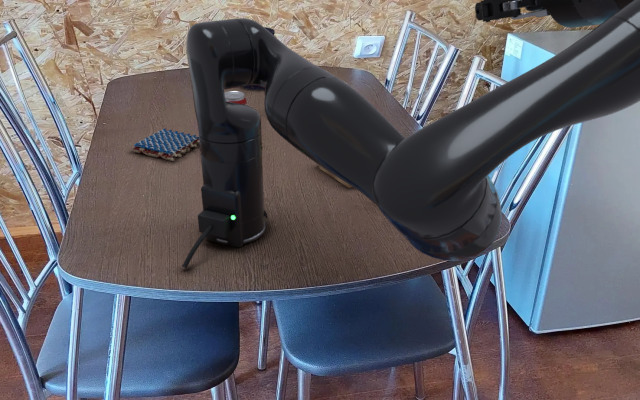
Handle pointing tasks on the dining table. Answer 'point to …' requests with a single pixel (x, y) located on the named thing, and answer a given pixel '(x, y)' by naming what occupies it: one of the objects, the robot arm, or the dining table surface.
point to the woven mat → (166, 144)
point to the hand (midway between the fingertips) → (505, 5)
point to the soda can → (235, 97)
